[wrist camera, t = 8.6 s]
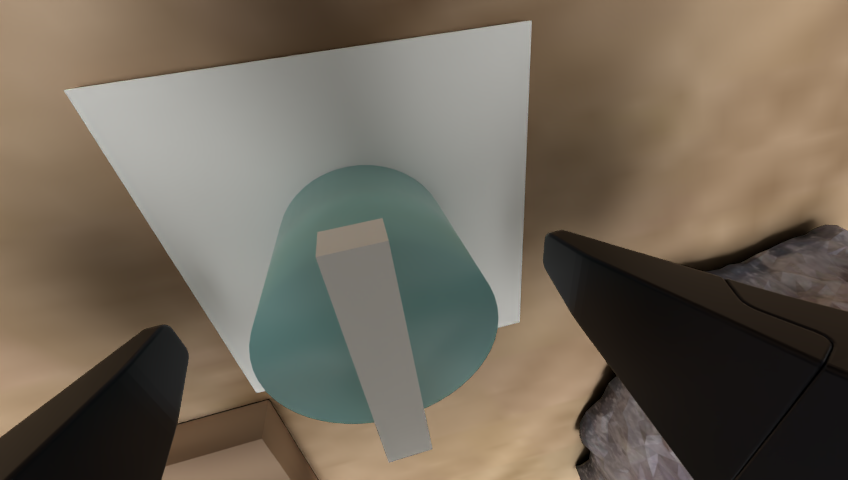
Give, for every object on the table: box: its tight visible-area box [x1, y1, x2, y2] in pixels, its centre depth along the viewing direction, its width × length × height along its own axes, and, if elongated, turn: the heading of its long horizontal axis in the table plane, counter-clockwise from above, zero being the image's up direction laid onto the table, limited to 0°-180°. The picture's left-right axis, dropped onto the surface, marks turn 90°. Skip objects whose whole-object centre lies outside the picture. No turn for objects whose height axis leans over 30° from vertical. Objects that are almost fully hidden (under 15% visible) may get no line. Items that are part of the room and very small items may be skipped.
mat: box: [64, 21, 532, 393], centre depth 10 cm, size 10×10×1 cm
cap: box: [249, 165, 498, 462], centre depth 8 cm, size 6×5×5 cm
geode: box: [576, 225, 848, 480], centre depth 16 cm, size 20×12×10 cm, turn 177°
